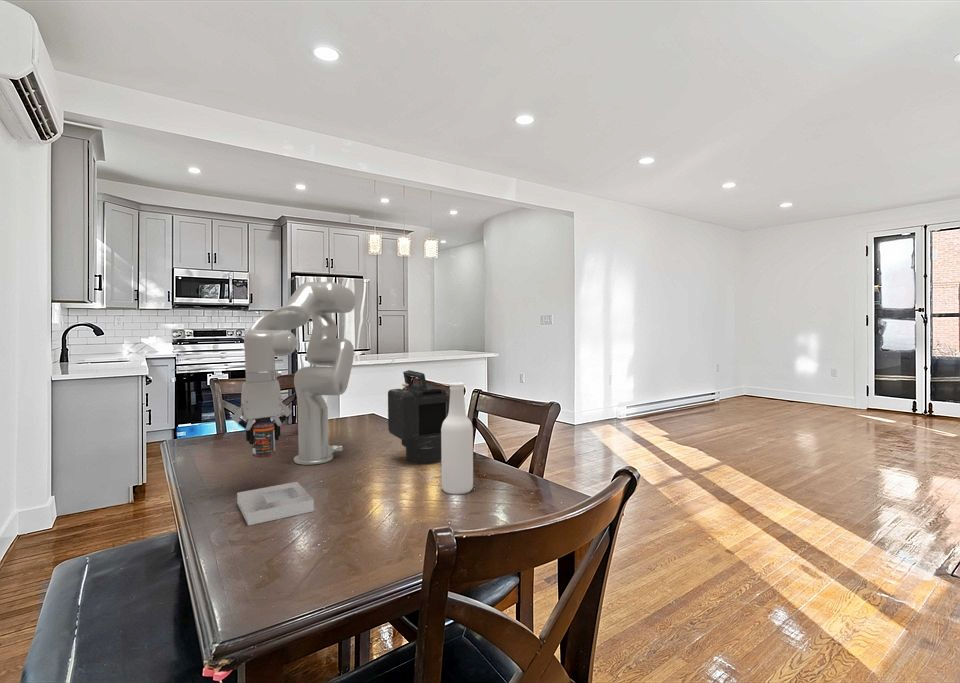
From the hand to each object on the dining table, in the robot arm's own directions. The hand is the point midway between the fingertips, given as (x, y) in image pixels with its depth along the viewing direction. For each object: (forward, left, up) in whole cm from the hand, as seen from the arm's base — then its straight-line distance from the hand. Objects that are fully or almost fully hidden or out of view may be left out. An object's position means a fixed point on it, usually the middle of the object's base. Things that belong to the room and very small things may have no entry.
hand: (263, 440), depth 137 cm
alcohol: (-44, +31, -14) cm, 56 cm away
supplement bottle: (0, 0, -4) cm, 4 cm away
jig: (+1, +16, -14) cm, 21 cm away
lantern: (-49, -1, -14) cm, 51 cm away
